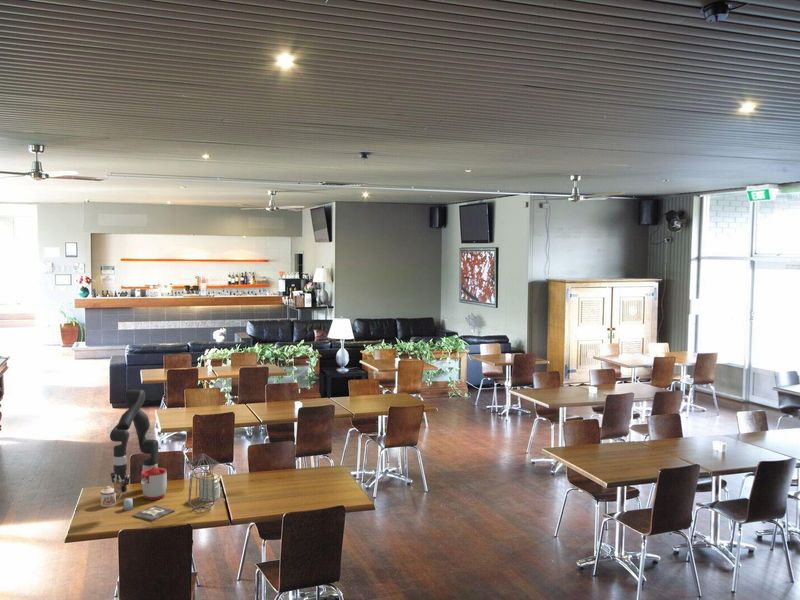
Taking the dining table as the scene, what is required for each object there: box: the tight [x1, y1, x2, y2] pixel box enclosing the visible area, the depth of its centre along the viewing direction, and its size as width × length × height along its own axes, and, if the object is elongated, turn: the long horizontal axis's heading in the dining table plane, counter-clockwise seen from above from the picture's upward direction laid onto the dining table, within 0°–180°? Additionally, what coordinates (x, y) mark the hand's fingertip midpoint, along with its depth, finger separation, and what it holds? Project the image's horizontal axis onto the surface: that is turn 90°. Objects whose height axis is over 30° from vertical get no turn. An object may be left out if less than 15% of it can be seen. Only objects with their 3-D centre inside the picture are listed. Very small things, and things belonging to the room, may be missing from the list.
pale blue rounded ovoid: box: [123, 497, 134, 512], centre depth 446 cm, size 5×5×6 cm
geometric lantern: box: [185, 453, 220, 514], centre depth 446 cm, size 16×16×35 cm
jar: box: [199, 470, 221, 502], centre depth 467 cm, size 13×13×18 cm
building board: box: [131, 504, 176, 522], centre depth 439 cm, size 18×16×2 cm
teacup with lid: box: [100, 485, 122, 508], centre depth 453 cm, size 12×9×12 cm
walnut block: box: [113, 480, 128, 495], centre depth 434 cm, size 5×5×6 cm
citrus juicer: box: [140, 467, 168, 501], centre depth 466 cm, size 16×17×20 cm
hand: (120, 490), depth 435 cm, fingers closed on walnut block, 5 cm apart
